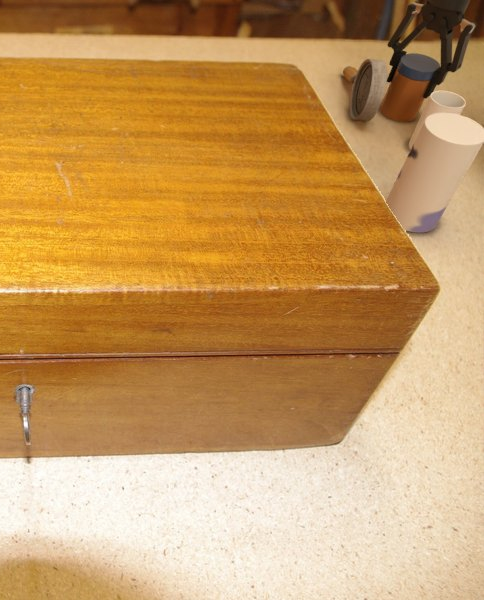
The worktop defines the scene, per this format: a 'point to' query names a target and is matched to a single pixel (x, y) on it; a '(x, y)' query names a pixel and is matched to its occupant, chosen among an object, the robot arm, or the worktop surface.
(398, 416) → the worktop surface
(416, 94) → the jar
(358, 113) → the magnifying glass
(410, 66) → the lid
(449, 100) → the mug
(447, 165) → the container
